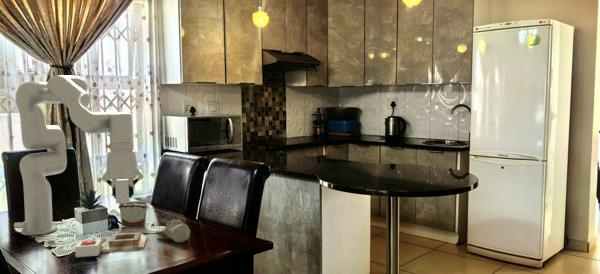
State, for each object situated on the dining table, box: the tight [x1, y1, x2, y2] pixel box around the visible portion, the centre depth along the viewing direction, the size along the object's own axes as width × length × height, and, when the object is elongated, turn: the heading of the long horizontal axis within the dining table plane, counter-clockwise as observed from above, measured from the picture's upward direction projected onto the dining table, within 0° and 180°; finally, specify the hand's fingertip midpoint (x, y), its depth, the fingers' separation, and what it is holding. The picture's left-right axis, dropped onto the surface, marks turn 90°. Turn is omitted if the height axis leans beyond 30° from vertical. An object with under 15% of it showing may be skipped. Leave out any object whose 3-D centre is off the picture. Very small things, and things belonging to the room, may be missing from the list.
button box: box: [74, 239, 103, 258], centre depth 161 cm, size 7×7×4 cm
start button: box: [82, 239, 96, 246], centre depth 161 cm, size 4×4×2 cm
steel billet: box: [115, 179, 132, 205], centre depth 169 cm, size 4×4×8 cm
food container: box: [118, 200, 149, 228], centre depth 196 cm, size 12×6×10 cm, turn 84°
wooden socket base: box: [100, 232, 148, 253], centre depth 170 cm, size 14×14×3 cm
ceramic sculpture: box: [155, 217, 191, 243], centre depth 177 cm, size 11×9×15 cm
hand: (123, 197), depth 169 cm, fingers closed on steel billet, 4 cm apart
